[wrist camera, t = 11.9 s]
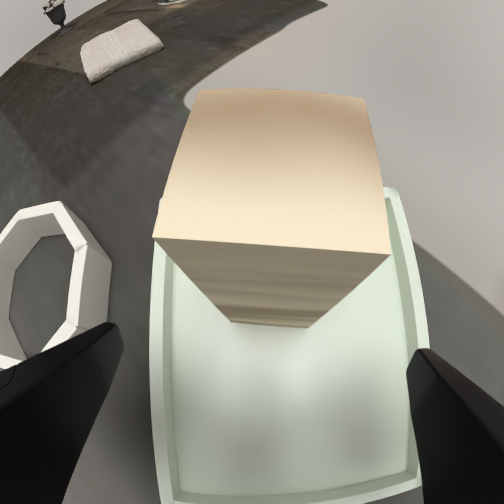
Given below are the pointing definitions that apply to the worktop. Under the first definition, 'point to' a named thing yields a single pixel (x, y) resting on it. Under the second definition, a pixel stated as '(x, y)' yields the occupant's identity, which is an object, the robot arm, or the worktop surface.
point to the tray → (287, 391)
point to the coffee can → (169, 2)
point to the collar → (82, 278)
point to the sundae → (57, 14)
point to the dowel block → (275, 203)
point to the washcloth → (118, 49)
